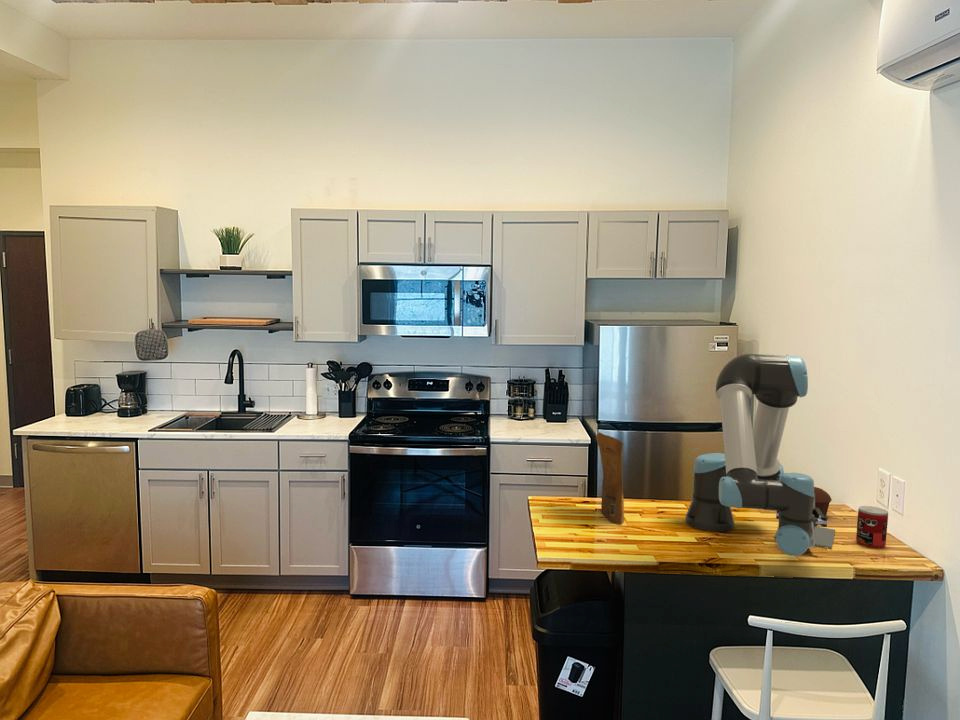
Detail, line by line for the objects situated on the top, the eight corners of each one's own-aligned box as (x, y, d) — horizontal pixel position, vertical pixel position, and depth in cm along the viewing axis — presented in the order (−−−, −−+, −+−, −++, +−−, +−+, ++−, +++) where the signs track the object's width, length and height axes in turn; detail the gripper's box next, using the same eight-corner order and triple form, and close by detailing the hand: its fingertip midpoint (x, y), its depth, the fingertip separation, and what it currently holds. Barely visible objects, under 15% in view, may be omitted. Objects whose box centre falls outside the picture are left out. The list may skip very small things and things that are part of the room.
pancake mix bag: (609, 526, 216) (613, 441, 213) (591, 508, 235) (595, 430, 232) (629, 526, 217) (633, 441, 214) (610, 508, 236) (613, 430, 233)
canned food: (850, 540, 209) (853, 505, 208) (874, 539, 210) (877, 505, 209) (866, 549, 202) (869, 513, 201) (891, 548, 202) (894, 513, 201)
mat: (774, 538, 209) (774, 536, 209) (781, 522, 225) (781, 520, 225) (831, 549, 201) (831, 547, 201) (835, 531, 217) (835, 529, 217)
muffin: (794, 518, 230) (796, 489, 229) (791, 509, 240) (793, 482, 239) (832, 523, 226) (835, 494, 225) (828, 513, 236) (830, 485, 235)
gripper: (770, 534, 180) (782, 511, 200) (824, 544, 173) (830, 520, 194) (772, 507, 179) (783, 487, 200) (827, 516, 173) (832, 494, 193)
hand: (807, 503), depth 197 cm, fingers closed
